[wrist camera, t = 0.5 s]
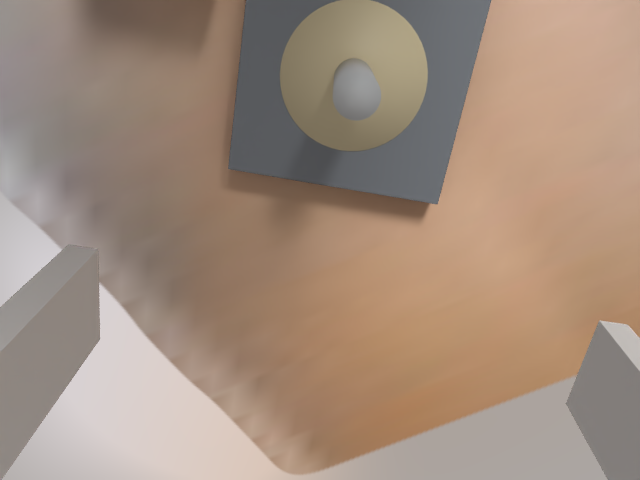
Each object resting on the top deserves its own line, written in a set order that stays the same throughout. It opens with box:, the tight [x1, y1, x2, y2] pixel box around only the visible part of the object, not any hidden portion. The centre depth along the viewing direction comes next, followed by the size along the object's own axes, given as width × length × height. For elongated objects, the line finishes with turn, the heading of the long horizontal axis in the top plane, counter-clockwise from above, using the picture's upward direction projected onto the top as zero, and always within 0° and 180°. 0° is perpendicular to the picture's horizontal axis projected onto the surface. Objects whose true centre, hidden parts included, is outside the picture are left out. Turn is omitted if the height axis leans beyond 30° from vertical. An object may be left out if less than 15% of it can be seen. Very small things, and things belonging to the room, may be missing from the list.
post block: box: [228, 0, 491, 204], centre depth 32 cm, size 14×14×8 cm
